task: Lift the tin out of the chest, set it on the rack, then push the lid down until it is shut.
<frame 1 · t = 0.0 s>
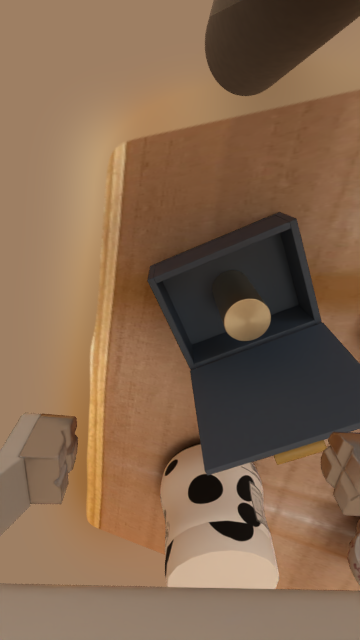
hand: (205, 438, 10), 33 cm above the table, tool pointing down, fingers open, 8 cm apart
lid: (277, 401, 35), point 13 cm above the table, hinge at 95.0°
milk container: (207, 467, 59), on the table
tin: (230, 288, 43), point 1 cm above the table, touching chest
chest: (229, 286, 43), on the table
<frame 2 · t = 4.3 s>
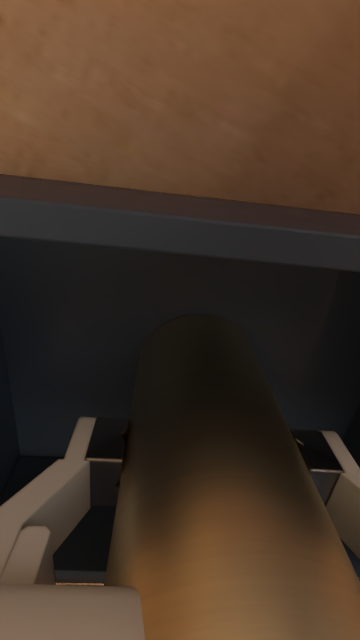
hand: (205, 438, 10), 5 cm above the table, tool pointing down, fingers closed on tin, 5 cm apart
tin: (196, 365, 14), point 1 cm above the table, touching chest, gripper
chest: (194, 355, 15), on the table
when the fingers open (6 cm above the table, at t = 18.0 s): tin stays where it is, resting on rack.
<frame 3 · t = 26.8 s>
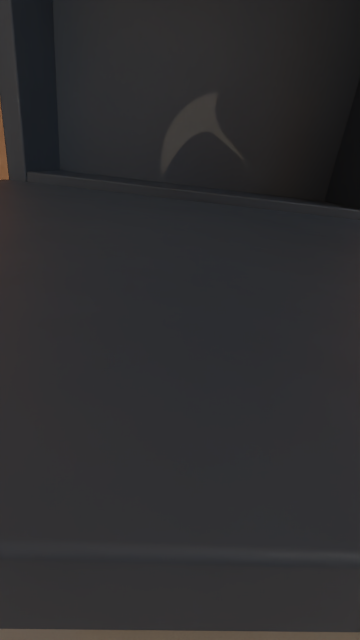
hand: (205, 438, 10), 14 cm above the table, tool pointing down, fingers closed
lid: (217, 325, 9), point 13 cm above the table, hinge at 91.4°, touching gripper
chest: (209, 66, 17), on the table
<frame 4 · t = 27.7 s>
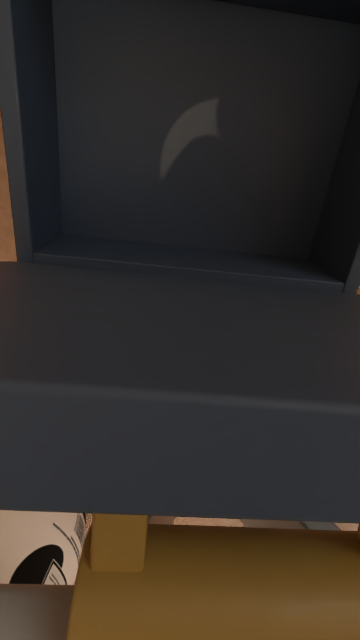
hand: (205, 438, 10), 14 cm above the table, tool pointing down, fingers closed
lid: (211, 377, 9), point 14 cm above the table, hinge at 74.9°, touching gripper
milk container: (5, 491, 31), on the table
chest: (200, 142, 19), on the table
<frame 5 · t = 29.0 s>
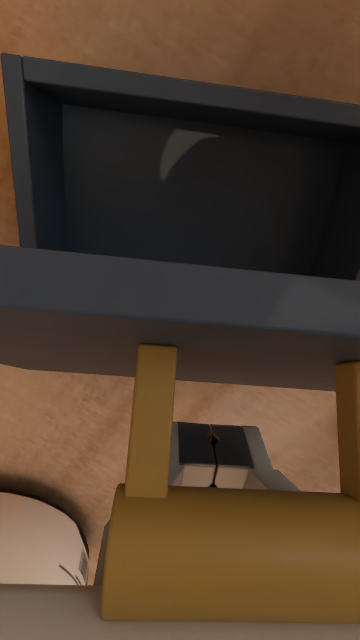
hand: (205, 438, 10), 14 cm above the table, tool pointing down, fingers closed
lid: (209, 423, 11), point 13 cm above the table, hinge at 51.3°, touching gripper
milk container: (13, 526, 33), on the table
chest: (194, 231, 21), on the table
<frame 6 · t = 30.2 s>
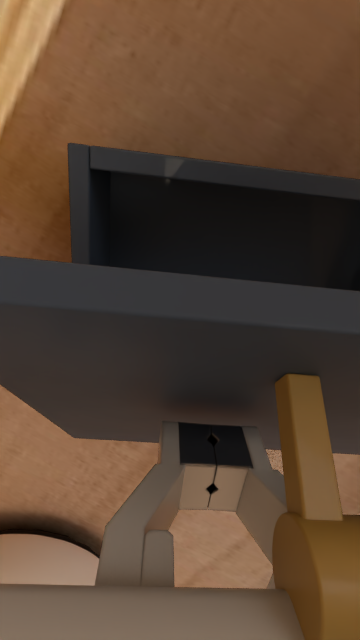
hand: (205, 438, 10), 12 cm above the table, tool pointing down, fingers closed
lid: (296, 479, 10), point 12 cm above the table, hinge at 36.6°, touching gripper
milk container: (38, 561, 33), on the table
chest: (237, 286, 20), on the table
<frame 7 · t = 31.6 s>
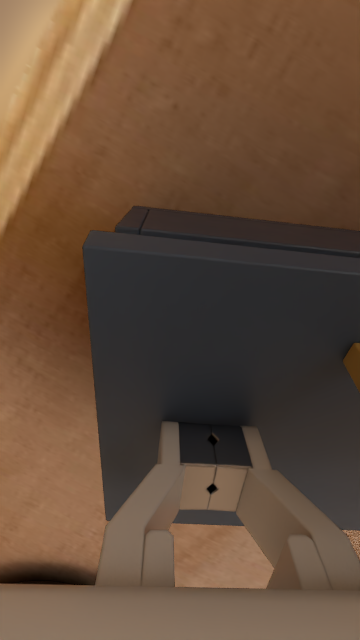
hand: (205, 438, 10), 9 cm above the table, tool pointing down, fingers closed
chest: (276, 342, 19), on the table
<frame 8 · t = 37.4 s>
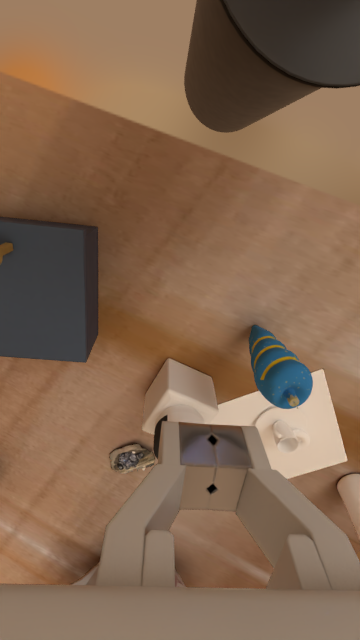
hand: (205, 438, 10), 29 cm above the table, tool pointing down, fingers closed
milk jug: (134, 569, 65), on the table
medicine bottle: (178, 384, 45), on the table
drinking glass: (350, 481, 55), on the table
ornament: (254, 327, 42), on the table
chest: (22, 277, 38), on the table
blueberries: (131, 457, 51), on the table
teacup and saucer: (272, 437, 50), on the table
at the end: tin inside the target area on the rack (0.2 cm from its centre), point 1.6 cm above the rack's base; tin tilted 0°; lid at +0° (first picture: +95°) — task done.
